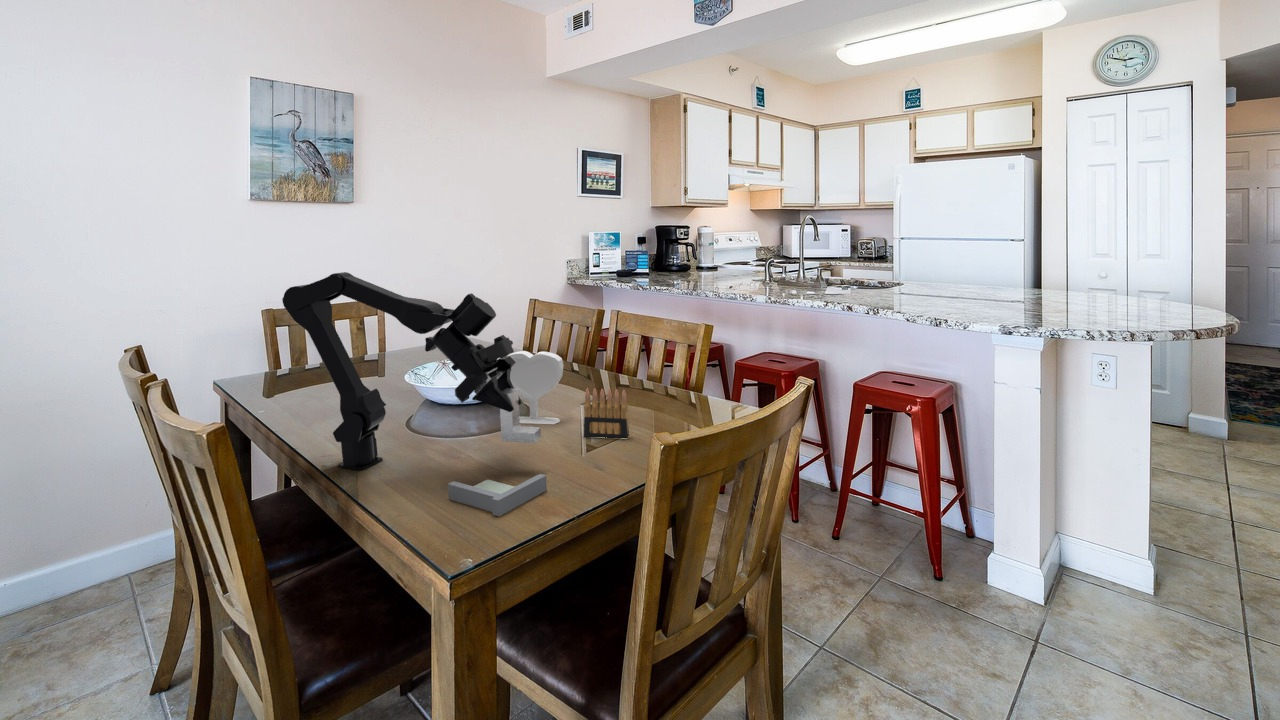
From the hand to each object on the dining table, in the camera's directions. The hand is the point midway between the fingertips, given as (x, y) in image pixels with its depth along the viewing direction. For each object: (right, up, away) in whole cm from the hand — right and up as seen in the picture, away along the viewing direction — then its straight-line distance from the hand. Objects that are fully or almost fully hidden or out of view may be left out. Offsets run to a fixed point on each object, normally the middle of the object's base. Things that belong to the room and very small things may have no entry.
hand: (516, 407), depth 127 cm
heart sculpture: (-2, -6, +37) cm, 37 cm away
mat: (-3, -15, -8) cm, 18 cm away
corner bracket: (-2, -16, -10) cm, 18 cm away
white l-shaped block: (+1, -6, +1) cm, 7 cm away
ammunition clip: (+17, -9, +23) cm, 30 cm away
